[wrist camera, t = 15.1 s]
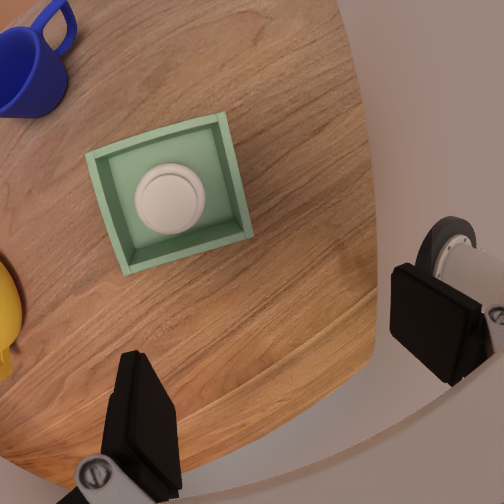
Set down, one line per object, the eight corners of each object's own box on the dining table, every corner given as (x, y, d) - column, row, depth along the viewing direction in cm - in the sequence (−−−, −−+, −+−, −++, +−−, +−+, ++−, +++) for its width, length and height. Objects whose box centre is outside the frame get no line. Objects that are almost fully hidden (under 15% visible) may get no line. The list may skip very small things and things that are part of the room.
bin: (216, 119, 28) (225, 111, 23) (241, 223, 32) (254, 237, 27) (100, 154, 26) (84, 153, 21) (131, 256, 30) (123, 276, 25)
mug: (112, 43, 22) (90, 3, 13) (48, 137, 24) (1, 132, 15) (64, 20, 19) (33, -17, 10) (4, 108, 21) (-45, 98, 12)
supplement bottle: (209, 195, 30) (224, 213, 20) (165, 226, 30) (159, 259, 20) (179, 151, 28) (180, 146, 18) (134, 183, 27) (113, 195, 18)
